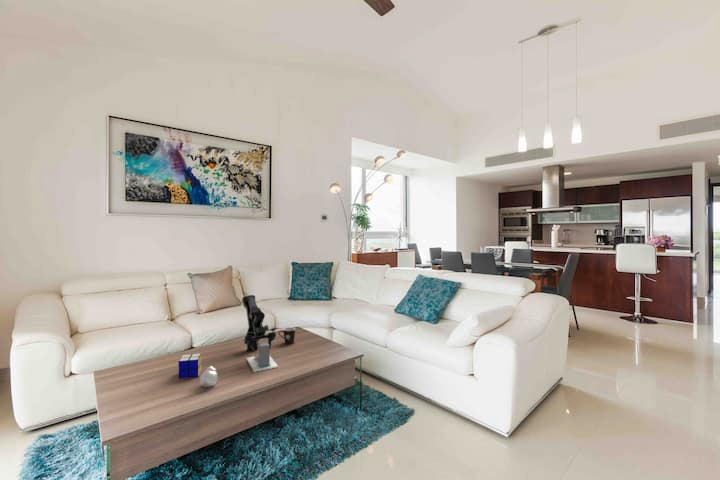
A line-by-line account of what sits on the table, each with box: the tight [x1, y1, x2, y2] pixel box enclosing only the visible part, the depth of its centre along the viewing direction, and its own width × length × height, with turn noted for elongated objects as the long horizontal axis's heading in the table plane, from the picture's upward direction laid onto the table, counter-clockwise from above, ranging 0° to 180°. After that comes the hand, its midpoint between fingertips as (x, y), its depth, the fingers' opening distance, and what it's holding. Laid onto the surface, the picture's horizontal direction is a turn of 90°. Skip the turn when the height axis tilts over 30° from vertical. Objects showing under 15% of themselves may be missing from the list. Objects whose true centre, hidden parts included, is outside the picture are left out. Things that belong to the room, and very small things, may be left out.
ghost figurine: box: [199, 365, 219, 388], centre depth 182 cm, size 9×10×10 cm
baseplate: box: [246, 352, 279, 373], centre depth 213 cm, size 22×14×4 cm, turn 29°
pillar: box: [258, 342, 271, 367], centre depth 208 cm, size 5×5×12 cm
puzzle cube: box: [178, 353, 202, 380], centre depth 196 cm, size 10×10×10 cm
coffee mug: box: [278, 327, 296, 345], centre depth 252 cm, size 12×9×10 cm
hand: (262, 350), depth 212 cm, fingers open, 9 cm apart
